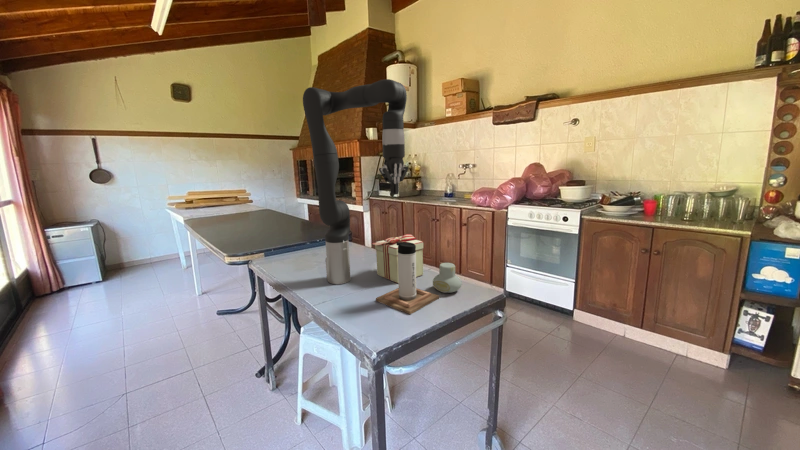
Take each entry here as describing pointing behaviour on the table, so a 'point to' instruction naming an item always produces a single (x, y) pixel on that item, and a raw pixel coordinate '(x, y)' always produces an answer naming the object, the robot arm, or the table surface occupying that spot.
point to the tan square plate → (407, 305)
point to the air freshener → (447, 279)
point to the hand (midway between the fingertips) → (394, 194)
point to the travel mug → (407, 270)
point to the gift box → (396, 256)
